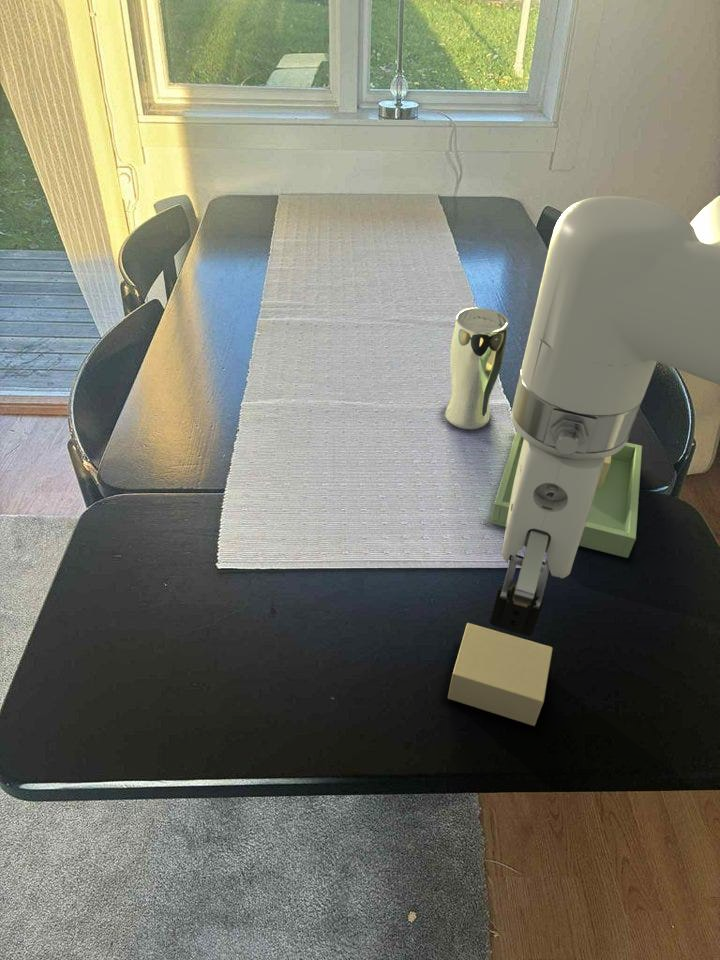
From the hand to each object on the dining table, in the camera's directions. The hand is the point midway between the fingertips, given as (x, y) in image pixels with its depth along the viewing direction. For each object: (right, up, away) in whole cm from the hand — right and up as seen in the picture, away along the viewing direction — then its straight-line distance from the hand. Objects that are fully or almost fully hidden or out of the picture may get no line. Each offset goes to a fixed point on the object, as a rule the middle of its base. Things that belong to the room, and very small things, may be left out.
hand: (521, 581), depth 56 cm
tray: (+13, +7, +30) cm, 34 cm away
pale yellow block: (+14, +10, +33) cm, 37 cm away
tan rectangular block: (0, -11, +10) cm, 15 cm away
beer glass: (+2, +17, +42) cm, 45 cm away
